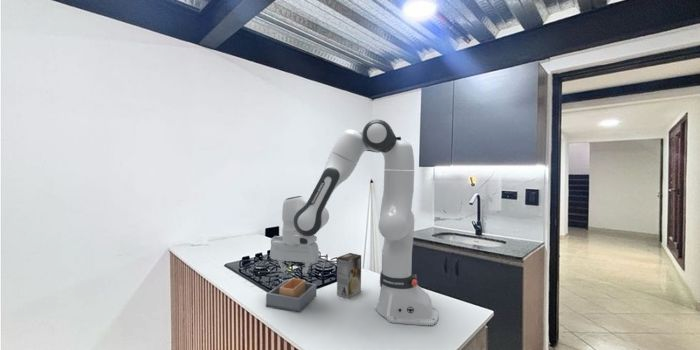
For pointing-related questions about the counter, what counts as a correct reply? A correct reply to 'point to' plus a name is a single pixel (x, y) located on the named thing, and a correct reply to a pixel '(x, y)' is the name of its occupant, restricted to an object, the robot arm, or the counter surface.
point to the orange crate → (293, 288)
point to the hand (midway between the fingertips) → (294, 271)
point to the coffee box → (348, 275)
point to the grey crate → (290, 298)
